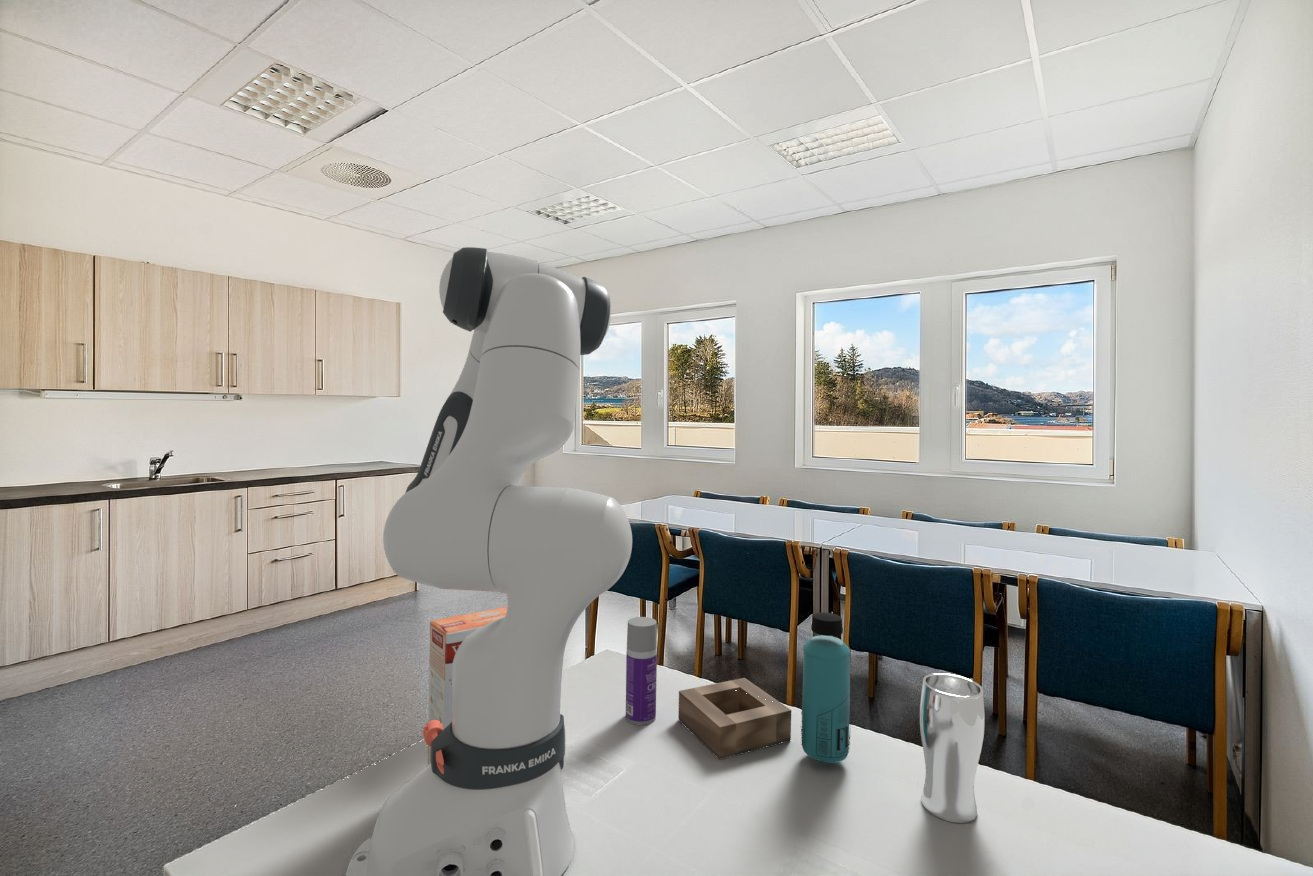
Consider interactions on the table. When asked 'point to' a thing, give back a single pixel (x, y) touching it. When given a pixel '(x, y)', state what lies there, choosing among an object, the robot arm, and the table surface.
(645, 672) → the container
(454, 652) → the cracker box
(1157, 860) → the table surface
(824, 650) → the beverage bottle
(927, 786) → the beer glass
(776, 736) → the socket block
